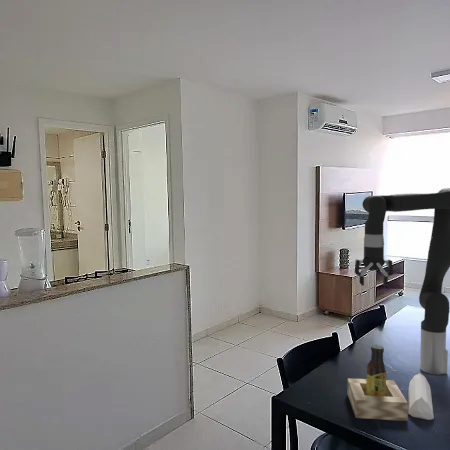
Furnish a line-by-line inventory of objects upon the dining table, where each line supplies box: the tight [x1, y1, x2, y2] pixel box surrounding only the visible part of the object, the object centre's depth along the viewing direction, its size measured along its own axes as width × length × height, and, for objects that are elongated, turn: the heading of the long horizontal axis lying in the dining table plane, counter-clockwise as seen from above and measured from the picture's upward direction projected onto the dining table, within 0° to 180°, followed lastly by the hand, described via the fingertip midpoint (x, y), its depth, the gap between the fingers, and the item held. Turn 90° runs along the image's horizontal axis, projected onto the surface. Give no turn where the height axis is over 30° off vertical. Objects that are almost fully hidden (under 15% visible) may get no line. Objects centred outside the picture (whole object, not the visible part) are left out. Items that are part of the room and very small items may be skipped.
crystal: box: [408, 372, 435, 421], centre depth 140 cm, size 7×7×24 cm
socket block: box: [347, 378, 409, 422], centre depth 138 cm, size 16×16×6 cm
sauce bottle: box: [366, 344, 387, 396], centre depth 138 cm, size 6×6×20 cm
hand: (373, 285), depth 163 cm, fingers open, 8 cm apart
